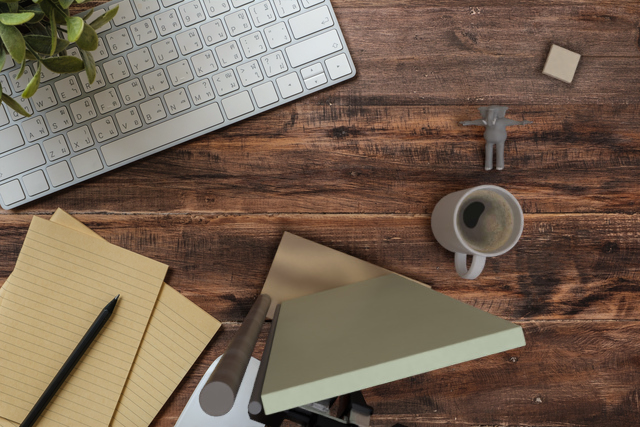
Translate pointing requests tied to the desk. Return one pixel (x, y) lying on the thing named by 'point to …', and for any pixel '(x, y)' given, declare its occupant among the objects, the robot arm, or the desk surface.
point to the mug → (477, 225)
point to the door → (369, 340)
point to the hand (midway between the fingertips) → (346, 358)
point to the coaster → (561, 64)
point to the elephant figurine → (494, 132)
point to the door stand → (281, 284)
